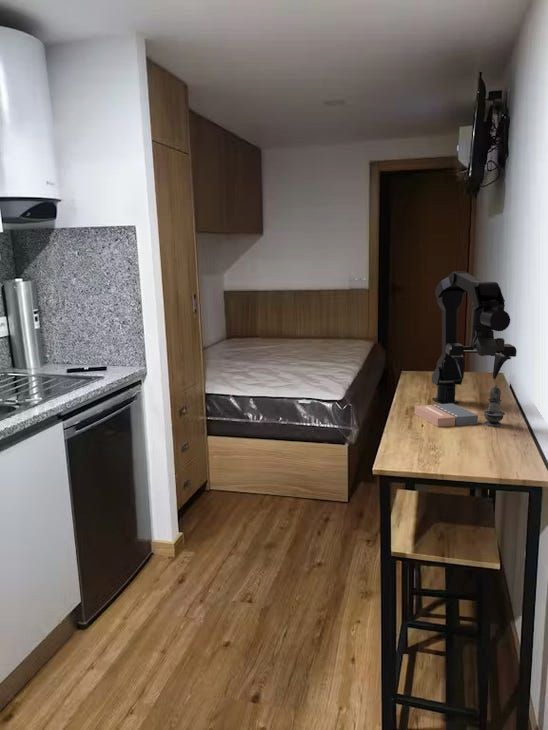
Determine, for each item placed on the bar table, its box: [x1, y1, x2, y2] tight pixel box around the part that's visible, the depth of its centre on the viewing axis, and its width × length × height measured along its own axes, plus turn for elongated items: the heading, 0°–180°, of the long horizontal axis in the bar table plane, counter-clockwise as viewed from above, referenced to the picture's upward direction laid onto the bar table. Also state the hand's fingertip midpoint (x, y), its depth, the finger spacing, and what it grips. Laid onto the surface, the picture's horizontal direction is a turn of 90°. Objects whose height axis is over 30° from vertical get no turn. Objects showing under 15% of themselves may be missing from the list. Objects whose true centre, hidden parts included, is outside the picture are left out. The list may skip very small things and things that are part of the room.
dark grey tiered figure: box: [483, 384, 506, 428], centre depth 163 cm, size 6×6×12 cm
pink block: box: [414, 404, 456, 428], centre depth 169 cm, size 14×6×3 cm, turn 13°
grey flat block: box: [431, 403, 479, 426], centre depth 170 cm, size 14×7×3 cm, turn 13°
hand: (478, 378), depth 164 cm, fingers open, 9 cm apart
